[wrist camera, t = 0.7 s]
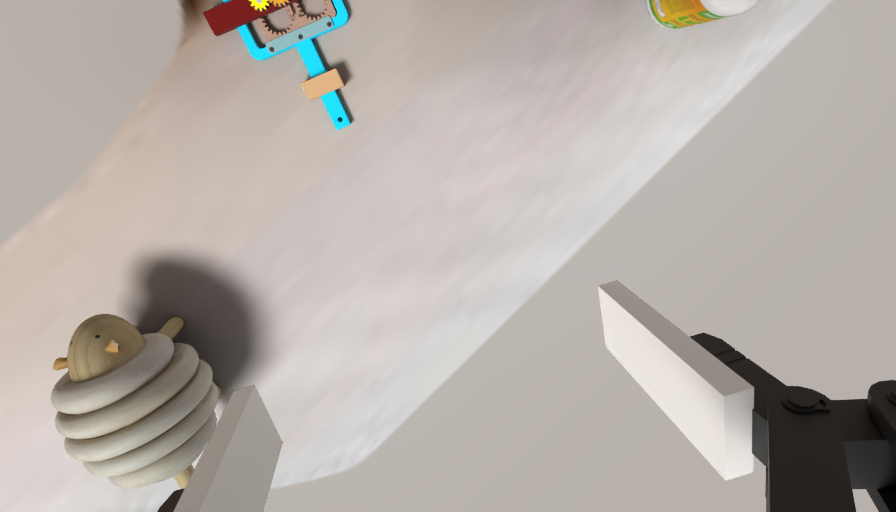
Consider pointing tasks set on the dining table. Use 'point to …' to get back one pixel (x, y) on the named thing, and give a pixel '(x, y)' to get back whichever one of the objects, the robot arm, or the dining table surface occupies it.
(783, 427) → the robot arm
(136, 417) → the toy sheep
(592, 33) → the dining table surface
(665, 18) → the supplement bottle
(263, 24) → the gear mechanism
